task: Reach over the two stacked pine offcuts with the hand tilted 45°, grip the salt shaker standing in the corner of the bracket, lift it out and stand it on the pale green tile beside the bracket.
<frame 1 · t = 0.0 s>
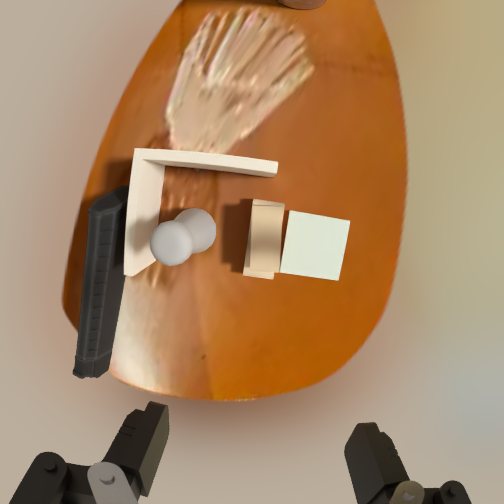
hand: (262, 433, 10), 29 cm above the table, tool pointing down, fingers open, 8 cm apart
bracket: (197, 228, 38), on the table
tile: (314, 245, 38), on the table
offcut short: (265, 236, 36), point 2 cm above the table
magazine: (116, 284, 40), on the table
salt shaker: (198, 228, 38), on the table
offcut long: (263, 237, 38), on the table
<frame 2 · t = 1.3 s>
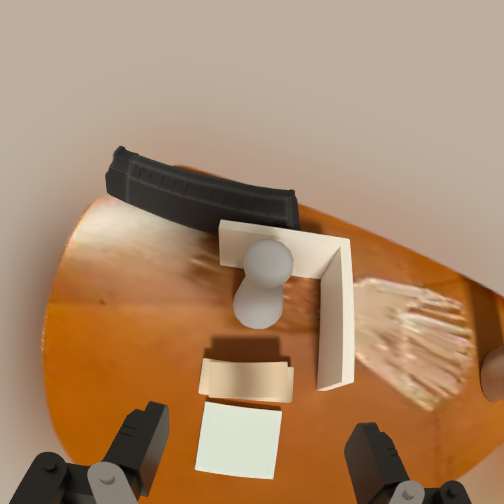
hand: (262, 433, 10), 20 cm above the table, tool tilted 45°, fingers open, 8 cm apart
bracket: (256, 312, 34), on the table
tile: (238, 441, 25), on the table
offcut short: (247, 381, 28), point 1 cm above the table, touching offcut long
magazine: (196, 221, 41), on the table
salt shaker: (256, 312, 34), on the table
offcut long: (246, 383, 30), on the table, touching offcut short
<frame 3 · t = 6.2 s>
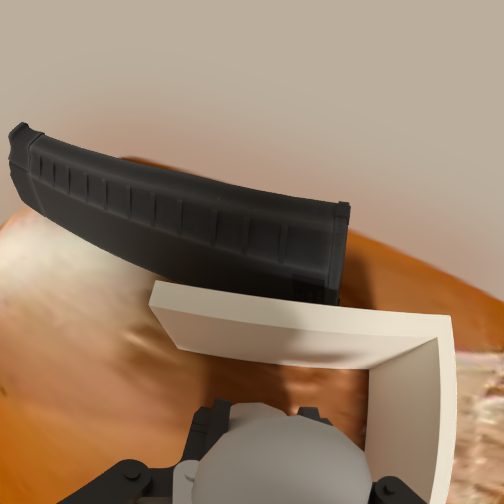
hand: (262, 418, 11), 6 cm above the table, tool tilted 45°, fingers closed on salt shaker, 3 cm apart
bracket: (248, 444, 15), on the table
magazine: (147, 253, 22), on the table
salt shaker: (248, 444, 15), on the table, touching gripper
when the fingers open (8 cm above the table, at t = 12.3 s): salt shaker moves 1 cm, resting on tile.
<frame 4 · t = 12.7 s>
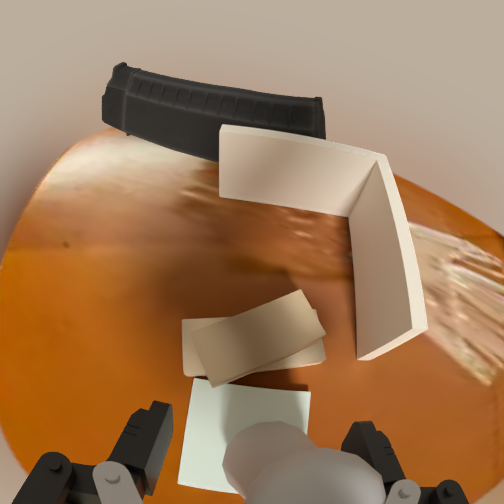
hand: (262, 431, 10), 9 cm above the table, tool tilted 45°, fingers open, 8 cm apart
bracket: (268, 252, 25), on the table
tile: (245, 441, 16), on the table
offcut short: (256, 343, 19), point 2 cm above the table
magazine: (200, 151, 33), on the table
salt shaker: (265, 457, 15), resting on tile
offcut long: (251, 348, 21), on the table
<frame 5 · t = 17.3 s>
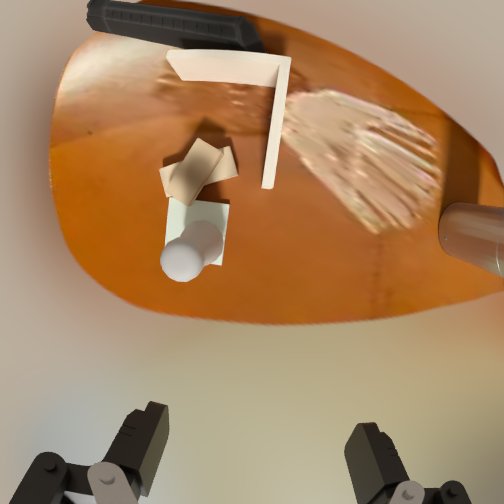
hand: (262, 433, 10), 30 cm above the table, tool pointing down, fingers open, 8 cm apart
bracket: (212, 117, 35), on the table
tile: (196, 230, 38), on the table
offcut short: (196, 172, 35), point 2 cm above the table, touching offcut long
magazine: (172, 38, 33), on the table
salt shaker: (205, 239, 38), resting on tile
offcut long: (200, 172, 37), on the table, touching offcut short
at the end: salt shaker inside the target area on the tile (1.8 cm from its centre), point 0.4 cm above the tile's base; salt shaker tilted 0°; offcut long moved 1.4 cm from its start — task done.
